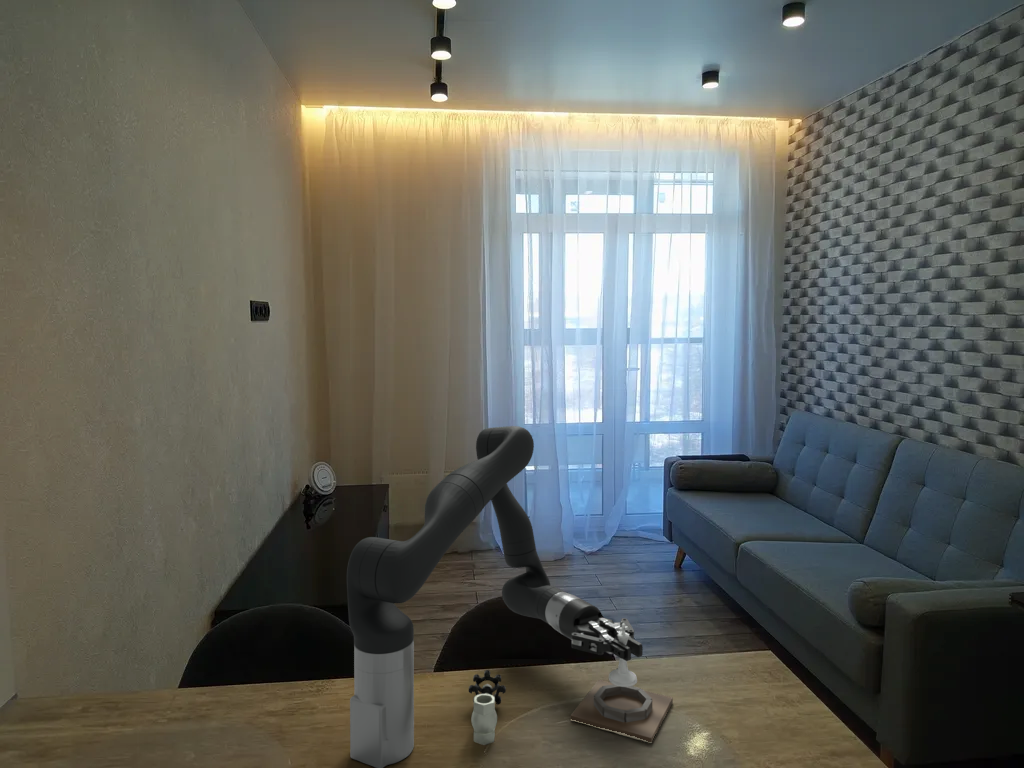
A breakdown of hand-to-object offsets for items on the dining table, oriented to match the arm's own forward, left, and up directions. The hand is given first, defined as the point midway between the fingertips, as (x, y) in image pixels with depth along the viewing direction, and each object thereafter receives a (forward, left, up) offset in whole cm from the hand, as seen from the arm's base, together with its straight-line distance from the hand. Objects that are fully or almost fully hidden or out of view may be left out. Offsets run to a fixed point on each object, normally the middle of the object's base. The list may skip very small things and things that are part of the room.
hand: (635, 653), depth 109 cm
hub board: (+1, +2, -12) cm, 12 cm away
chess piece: (+2, +3, -6) cm, 7 cm away
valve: (-13, +22, -12) cm, 28 cm away
